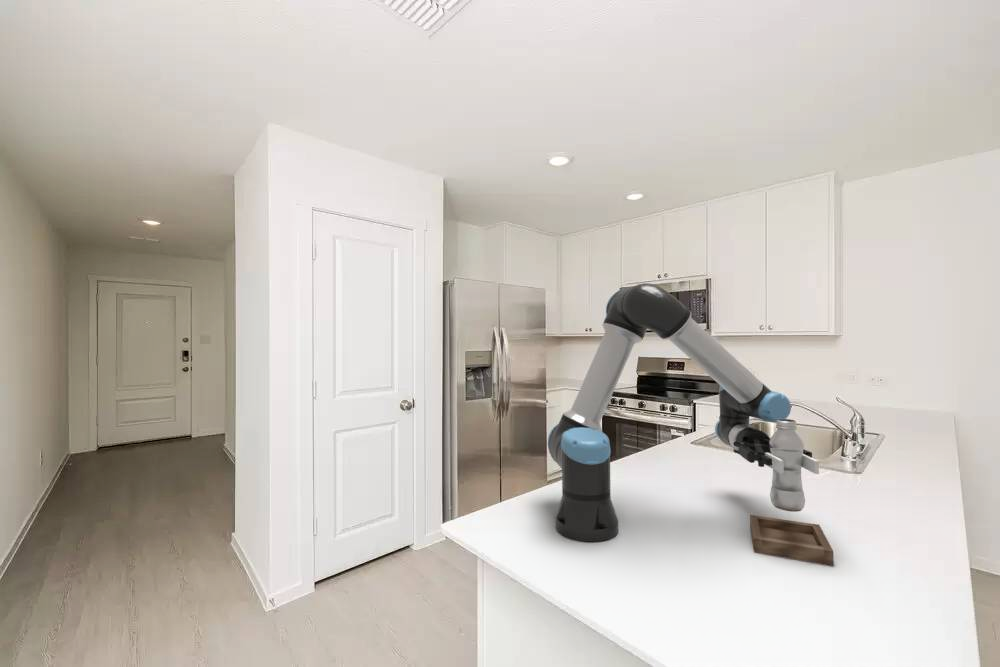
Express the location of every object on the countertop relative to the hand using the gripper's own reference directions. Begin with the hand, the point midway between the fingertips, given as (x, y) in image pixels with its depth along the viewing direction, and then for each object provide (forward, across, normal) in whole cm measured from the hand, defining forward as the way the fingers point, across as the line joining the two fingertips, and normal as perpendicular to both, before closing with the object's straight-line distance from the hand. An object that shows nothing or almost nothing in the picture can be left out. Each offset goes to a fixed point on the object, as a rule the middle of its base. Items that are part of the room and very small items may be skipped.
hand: (799, 467), depth 95 cm
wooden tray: (-5, 0, -19) cm, 19 cm away
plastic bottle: (-5, 0, -11) cm, 12 cm away
